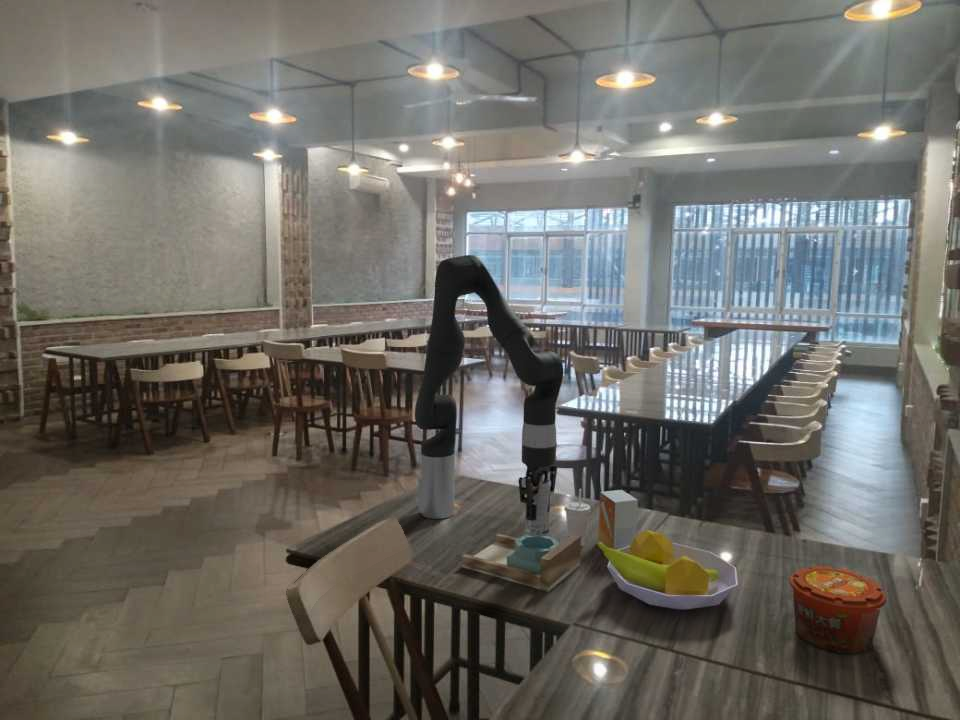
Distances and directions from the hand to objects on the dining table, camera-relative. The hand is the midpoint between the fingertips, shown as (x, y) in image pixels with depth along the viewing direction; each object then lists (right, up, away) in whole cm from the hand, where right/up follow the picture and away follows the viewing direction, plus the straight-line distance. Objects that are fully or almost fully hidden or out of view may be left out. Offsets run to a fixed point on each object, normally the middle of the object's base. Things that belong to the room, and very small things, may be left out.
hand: (537, 515), depth 157 cm
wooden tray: (-3, -12, +4) cm, 13 cm away
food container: (+53, -17, -25) cm, 61 cm away
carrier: (0, -12, +2) cm, 12 cm away
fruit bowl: (+26, -15, -8) cm, 31 cm away
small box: (+21, -11, +16) cm, 28 cm away
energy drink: (0, -4, +1) cm, 4 cm away
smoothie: (+11, -11, +17) cm, 23 cm away
